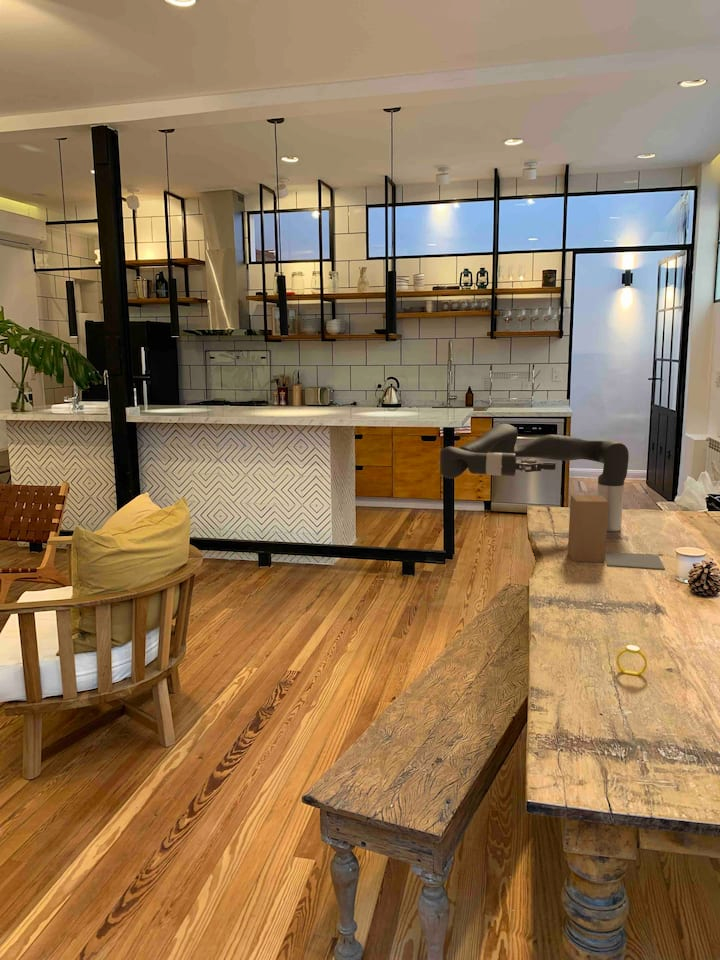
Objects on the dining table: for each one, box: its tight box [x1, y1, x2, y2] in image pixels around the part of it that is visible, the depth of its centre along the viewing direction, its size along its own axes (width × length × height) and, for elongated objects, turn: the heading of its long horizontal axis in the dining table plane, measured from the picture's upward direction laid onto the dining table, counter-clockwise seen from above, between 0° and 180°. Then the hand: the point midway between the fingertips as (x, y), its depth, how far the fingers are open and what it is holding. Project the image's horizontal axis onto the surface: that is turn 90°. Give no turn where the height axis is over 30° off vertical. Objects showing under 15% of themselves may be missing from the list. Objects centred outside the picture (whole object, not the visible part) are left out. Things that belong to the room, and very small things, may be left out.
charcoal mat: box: [605, 551, 666, 571], centre depth 232 cm, size 15×17×1 cm
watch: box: [616, 644, 648, 677], centre depth 153 cm, size 6×3×6 cm, turn 67°
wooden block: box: [567, 494, 609, 563], centre depth 234 cm, size 10×10×20 cm
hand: (555, 466), depth 232 cm, fingers closed
